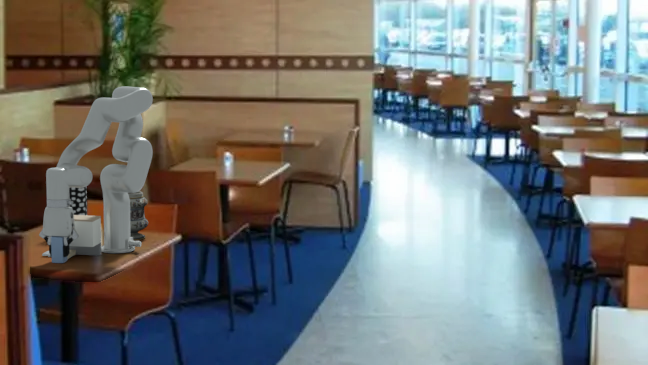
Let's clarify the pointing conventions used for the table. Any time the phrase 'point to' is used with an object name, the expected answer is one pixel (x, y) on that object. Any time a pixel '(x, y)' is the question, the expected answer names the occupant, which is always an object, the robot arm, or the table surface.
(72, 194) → the spotted tube
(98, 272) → the table surface
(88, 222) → the cabinet
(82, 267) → the table surface
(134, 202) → the apothecary jar
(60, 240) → the light blue block
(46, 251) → the block
